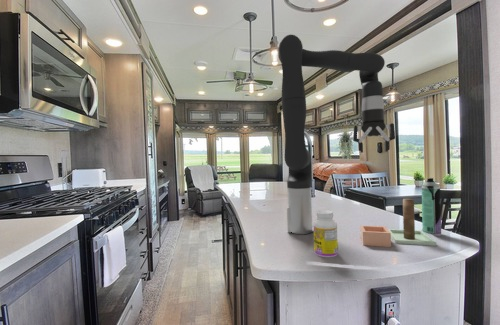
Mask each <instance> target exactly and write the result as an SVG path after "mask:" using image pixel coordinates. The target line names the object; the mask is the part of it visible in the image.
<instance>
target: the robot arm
mask: <svg viewBox="0 0 500 325" xmlns="http://www.w3.org/2000/svg"><path fill="white" fill-rule="evenodd" d="M303 47H304V46H303V42H302V40H301V39H300V38H299V37H298V36H297V35H295V34H288V35H286V36H284V37H283V38H282V39H281V41H280V42H279V45H278V51H277V53H278V60H279V61H280V63H281V70H282V79H281V80H282V81H281V107H282V108H281V109H282V117H283V119H282V120H283V128H284V137H285V138H284V162H285V165H286V166H287V167H288V177H287V182H286V186H287V188H286V189H287V192H286V193H287V208H286V222H287V224H286V225H287V233H291V232H292V233H291V234H295V235H296V234H297V235H305V234H306V235H307V234H311V233H312V232H313V207H312V206H313V204H312V202H313V201H312V200H313V199H312V178H313V177H312V176H313V172H312V171H313V170H312V169H313V168H312V164H313V163H312V156H311V153H310V151H309V150H308V149H307V146H306V139H305V128H306V120H307V100H306V91H305V82H304V77H303V67H308V68H309V67H311V68H318V69H319V68H322V69H327V70H333V71H334V70H335V71H337V72H338V71H339V72H345V73H353V72H354V71H357V72H358V73H359V80H360V85H361V94H362V95H361V96H362V98H361V99H362V100H361V118H362V119H361V123H362V124H361V125H359V126H358V125H354V126H353V137H352V141H353V142H355V143H357V144H358V151H359V152H360V153H364V146H363V145H364V144H363V141H364V140H365V138H366V137H378V136H379V137H381V138H382V139H383V140H384V142H383V143H384V144H383V145H384V146H383V147H384V152H385V153H387V152H388V151H389V150H390V142H391V141H393V140H395V139H396V132H395V124H394V123H388V124H386V123H385V111H384V110H385V107H384V104H385V103H384V95H383V93H384V92H383V85H382V84H383V83H382V82H381V81H379V73H380V72H381V71H382V70H383V68H384V67H385V62H386V61H385V59H384V57H383V56H382V55H381V54H378V53H374V52H349V51H343V50H337V49H330V50H315V51H314V50H307V49H304V48H303ZM386 128H387V129H386ZM385 129H386V130H388V131H389V136H388V135H387V134H386V133H385V132H384V130H385ZM360 130H361V131H362V133H363V134H362V135H361V137H360V138H358V133H359V131H360ZM388 153H389V152H388Z"/></svg>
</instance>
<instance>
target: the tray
mask: <svg viewBox="0 0 500 325" xmlns="http://www.w3.org/2000/svg"><path fill="white" fill-rule="evenodd" d="M387 229H388V230H389V232H390V233H391V240H392V241H393V242H394V243H395V244H399V245H400V244H401V245H414V246H415V245H418V246H419V245H420V246H433V247H434V246H435V247H436V246H437V241H436V240H434V239H433V238H431V236H429V235H428V233H425V232H423V230H420V229H419V230H418V229H417V230H416V229H415V239H414V240H410V239H405V238H404V229H393V228H387Z"/></svg>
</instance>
